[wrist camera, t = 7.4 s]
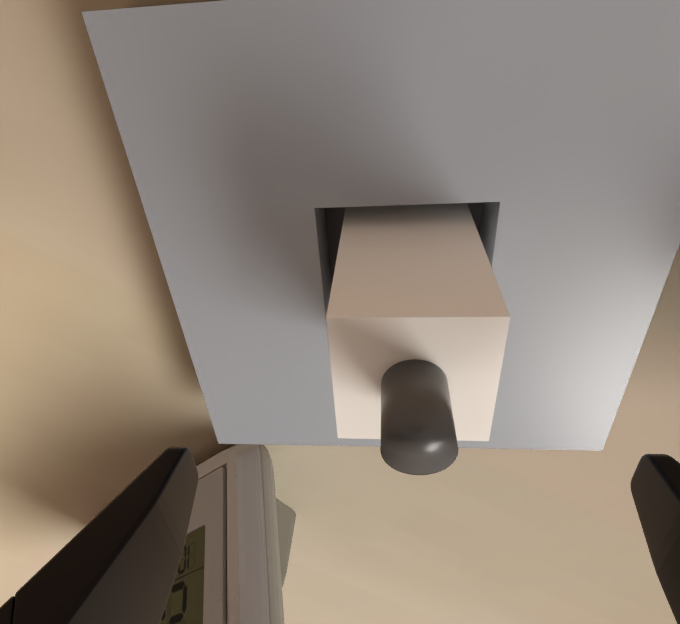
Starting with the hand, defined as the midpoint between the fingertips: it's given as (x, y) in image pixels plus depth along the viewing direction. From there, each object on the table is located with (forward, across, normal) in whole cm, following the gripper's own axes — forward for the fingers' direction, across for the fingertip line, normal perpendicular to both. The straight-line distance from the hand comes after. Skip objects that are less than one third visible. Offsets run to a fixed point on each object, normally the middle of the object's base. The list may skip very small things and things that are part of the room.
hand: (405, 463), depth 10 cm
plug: (+9, 0, 0) cm, 9 cm away
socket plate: (+10, 0, 0) cm, 10 cm away
